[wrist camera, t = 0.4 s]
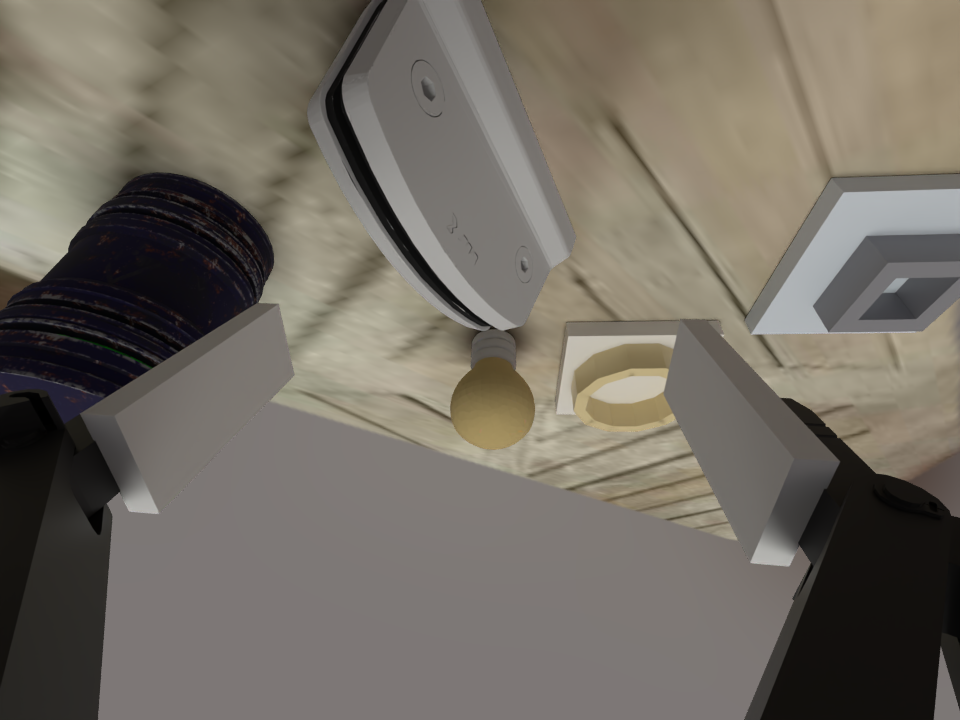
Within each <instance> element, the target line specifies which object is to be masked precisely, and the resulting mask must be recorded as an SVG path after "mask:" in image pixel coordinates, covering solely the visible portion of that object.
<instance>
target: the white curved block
mask: <svg viewBox="0 0 960 720" xmlns="http://www.w3.org/2000/svg"><path fill="white" fill-rule="evenodd" d="M307 115H308V121H309V125H310V127H311V130H312V132H313V134H314V136H315V138H316V140H317V143H318V145H319V147H320V149H321V151H322V153H323V156H324V158H325V160H326V162H327V163H328V165H329V167H330V169H331V171H332V173H333V175H334V177H335V179H336V181H337V183H338V185H339V186H340V188H341V190H342V192H343V193H344V195H345V197H346V199H347V200H348V202H349V204H350V205H351V207H352V209H353V210H354V212H355V214H356V215H357V217H358V218H359V220H360V221H361V223H362V224H363V226H364V228H365V229H366V231H367V232H368V234H369V235H370V236H371V238H372V239H373V241H374V242H375V243H376V245H377V246H378V247H379V249H380V250H381V252H382V253H383V254H384V255H385V257H386V258H387V259H388V260H389V262H390V263H391V264H392V266H393V267H394V268H395V269H396V270H397V271H398V272H399V273H400V275H401V276H402V277H403V278H404V279H405V280H406V281H407V282H408V283H409V284H410V285H411V286H412V287H413V288H414V289H415V290H416V291H417V292H418V293H419V294H420V295H421V296H422V297H423V298H424V299H425V300H427V301H428V302H429V303H430V304H431V305H433V306H434V307H435V308H437V309H438V310H439V311H441V312H442V313H443V314H445V315H446V316H448V317H449V318H451V319H453V320H454V321H456V322H458V323H460V324H462V325H464V326H466V327H469V328H473V329H477V330H481V331H486V330H488V329H489V328H490V327H491V326H494V327H495V328H497V329H499V330H502V331H503V330H507V329H511V328H516V327H520V326H522V325H523V324H524V323H525V322H526V320H527V318H528V316H529V314H530V312H531V310H532V308H533V305H534V303H535V301H536V299H537V297H538V295H539V293H540V291H541V289H542V287H543V284H544V282H545V280H546V278H547V276H548V274H549V272H550V270H551V269H552V268H553V267H554V266H556V265H557V264H559V263H560V262H562V261H563V260H565V259H566V258H568V257H569V256H570V254H571V251H572V248H573V245H574V242H575V239H576V235H575V232H574V230H573V227H572V225H571V222H570V220H569V218H568V215H567V213H566V210H565V208H564V205H563V203H562V200H561V198H560V195H559V193H558V190H557V188H556V185H555V183H554V180H553V178H552V175H551V173H550V170H549V168H548V165H547V163H546V161H545V158H544V156H543V153H542V151H541V148H540V146H539V143H538V141H537V138H536V136H535V133H534V131H533V128H532V126H531V123H530V121H529V118H528V116H527V113H526V111H525V108H524V106H523V104H522V101H521V99H520V96H519V94H518V91H517V89H516V86H515V84H514V81H513V79H512V76H511V74H510V71H509V69H508V66H507V64H506V61H505V59H504V56H503V54H502V51H501V49H500V47H499V44H498V42H497V39H496V37H495V34H494V32H493V29H492V27H491V24H490V22H489V19H488V17H487V14H486V12H485V9H484V7H483V4H482V2H481V0H384V1H383V0H372V1H371V2H370V3H369V5H368V6H367V7H366V9H365V10H364V11H363V13H362V14H361V16H360V18H359V19H358V21H357V23H356V24H355V26H354V28H353V29H352V31H351V33H350V34H349V36H348V38H347V39H346V41H345V43H344V44H343V46H342V48H341V50H340V51H339V53H338V55H337V56H336V58H335V60H334V61H333V63H332V65H331V66H330V68H329V70H328V71H327V73H326V75H325V76H324V78H323V80H322V81H321V83H320V85H319V86H318V88H317V90H316V91H315V93H314V95H313V96H312V98H311V100H310V101H309V104H308V110H307Z"/></svg>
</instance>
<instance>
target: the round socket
mask: <svg viewBox="0 0 960 720" xmlns="http://www.w3.org/2000/svg"><path fill="white" fill-rule="evenodd" d="M707 322H708V323H709V324H710V325H711V326H712V327H713V328H714V329H715V330H716V331H717V332H718V333H719V334H720V335H721V336H722V337H723V336H724V333H723V330H722V328H721V325H720V323H719V320H714V321H707ZM679 323H680V321H636V322H567V323H566V330H565V337H564V344H563V351H562V358H561V364H560V371H559V378H558V385H557V392H556V399H555V407H556V414H576V415H577V416H578V417H579V418H580V419H581V420H582V421H583V422H584V423H585V425H589V426H592V427H595V428H598V429H602V430H605V431H608V432H638V431H642V430H646V429H650V428H654V427H659V426H663V425H666V424H668V423H670V422H672V421H673V420H675V419H676V418H675V416H674V414H673V412H672V410H671V408H670V406H669V404H668V402H667V401H666V399H665V397H664V395H663V393H664V389H665V384H666V380H667V376H668V371H669V367H670V362H671V358H672V354H673V349H674V345H675V340H676V336H677V332H678V327H679Z"/></svg>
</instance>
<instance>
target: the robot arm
mask: <svg viewBox="0 0 960 720" xmlns="http://www.w3.org/2000/svg"><path fill="white" fill-rule="evenodd" d="M293 376H294V371H293V366H292V362H291V357H290V353H289V348H288V344H287V339H286V335H285V330H284V326H283V321H282V317H281V312H280V308H279V304H268V303H257V304H255V305H253V306H252V307H250V308H249V309H247V310H245V311H244V312H242V313H240V314H239V315H237V316H236V317H234V318H232V319H231V320H229V321H228V322H226V323H224V324H223V325H221V326H220V327H218V328H216V329H215V330H213V331H212V332H210V333H208V334H207V335H205V336H204V337H202V338H200V339H199V340H197V341H196V342H194V343H192V344H191V345H189V346H188V347H186V348H184V349H183V350H181V351H180V352H178V353H176V354H175V355H173V356H172V357H170V358H168V359H167V360H165V361H164V362H162V363H160V364H159V365H157V366H156V367H154V368H152V369H151V370H149V371H148V372H146V373H144V374H143V375H141V376H140V377H138V378H136V379H135V380H133V381H132V382H130V383H128V384H127V385H125V386H124V387H122V388H120V389H119V390H117V391H116V392H114V393H112V394H111V395H109V396H108V397H106V398H104V399H103V400H101V401H100V402H98V403H96V404H95V405H93V406H92V407H90V408H88V409H87V410H85V411H84V412H82V413H80V414H79V415H78V416H76V417H74V418H73V419H71V420H70V421H68V422H66V423H65V424H64V422H63V420H62V419H61V417H60V415H59V413H58V411H57V409H56V407H55V405H54V404H53V402H52V400H51V398H50V396H49V394H48V392H47V391H44V390H41V389H25V390H19V391H13V392H9V393H5V394H1V395H0V720H98V709H99V695H100V680H101V667H102V652H103V640H104V625H105V612H106V611H105V610H106V598H107V584H108V569H109V555H110V542H111V528H112V514H111V511H110V509H109V507H108V505H107V503H108V502H109V501H110V500H111V499H112V498H113V497H114V496H116V495H117V494H118V493H119V492H120V494H121V496H122V498H123V500H124V502H125V504H126V506H127V508H128V510H129V511H130V512H142V513H154V514H160V513H161V512H162V511H163V510H164V509H165V508H166V507H167V506H168V505H169V504H170V503H171V502H172V501H173V500H174V499H175V498H176V497H177V496H178V495H179V493H180V492H181V491H182V490H183V489H184V488H185V487H186V486H187V485H188V484H189V483H190V482H191V481H192V480H193V479H194V478H195V477H196V476H197V475H198V474H199V473H200V472H201V471H202V470H203V469H204V468H205V467H206V466H207V465H208V464H209V463H210V461H211V460H212V459H213V458H214V457H215V456H216V455H217V454H218V453H219V452H220V451H221V450H222V449H223V448H224V447H225V446H226V445H227V444H228V443H229V442H230V441H231V440H232V439H233V438H234V437H235V436H236V435H237V434H238V433H239V432H240V431H241V430H242V429H243V428H244V426H245V425H246V424H247V423H248V422H249V421H250V420H251V419H252V418H253V417H254V416H255V415H256V414H257V413H258V412H259V411H260V410H261V409H262V408H263V407H264V406H265V405H266V404H267V403H268V402H269V401H270V400H271V399H272V398H273V397H274V396H275V395H276V394H277V392H278V391H279V390H280V389H281V388H282V387H283V386H284V385H285V384H286V383H287V382H288V381H289V380H290V379H291V378H292V377H293ZM663 395H664V397H665V399H666V401H667V402H668V404H669V406H670V408H671V410H672V412H673V414H674V416H675V418H676V420H677V422H678V424H679V426H680V428H681V430H682V432H683V434H684V436H685V437H686V439H687V441H688V443H689V445H690V447H691V449H692V451H693V453H694V455H695V457H696V459H697V461H698V463H699V465H700V467H701V469H702V471H703V472H704V474H705V476H706V478H707V480H708V482H709V484H710V486H711V488H712V490H713V492H714V494H715V496H716V498H717V500H718V502H719V504H720V506H721V507H722V509H723V511H724V513H725V515H726V517H727V519H728V521H729V523H730V525H731V527H732V529H733V531H734V533H735V535H736V537H737V539H738V541H739V542H740V544H741V546H742V548H743V550H744V552H745V554H746V556H747V558H748V560H749V562H750V563H756V564H767V565H779V566H790V564H791V562H792V560H793V558H794V555H795V553H796V551H797V549H798V547H799V545H800V547H801V548H802V549H803V551H804V553H805V554H806V556H807V557H808V559H809V560H810V562H811V564H810V566H809V568H808V570H807V572H806V573H805V575H804V577H803V579H802V581H801V583H800V585H799V587H798V589H797V591H796V593H795V595H794V597H793V600H794V602H793V604H792V607H791V609H790V611H789V614H788V616H787V619H786V621H785V624H784V626H783V628H782V631H781V633H780V636H779V638H778V640H777V643H776V645H775V647H774V650H773V652H772V655H771V657H770V659H769V662H768V664H767V666H766V669H765V671H764V674H763V676H762V678H761V681H760V683H759V686H758V688H757V691H756V693H755V695H754V697H753V700H752V702H751V705H750V707H749V709H748V712H747V714H746V717H745V719H744V720H934V710H935V699H936V689H937V678H938V667H939V657H940V647H941V648H942V651H943V655H944V658H945V661H946V665H947V668H948V672H949V675H950V678H951V682H952V685H953V689H954V692H955V696H956V699H957V702H958V706H959V709H960V518H958V517H954V516H951V514H950V511H949V510H948V509H947V508H946V507H945V506H944V505H943V503H941V502H940V500H939V499H937V498H936V497H934V496H933V495H931V494H930V493H928V492H927V491H925V490H924V489H922V488H920V487H918V486H915V485H913V484H911V483H909V482H907V481H905V480H901V479H898V478H895V477H892V476H888V475H883V474H876V473H875V472H874V471H873V470H872V469H871V468H870V467H869V466H868V465H867V464H866V463H865V462H864V461H863V460H862V459H861V458H859V457H858V456H857V455H856V454H855V453H854V452H853V451H852V450H851V449H850V448H849V447H848V446H847V445H846V444H845V443H844V442H843V441H842V440H841V439H840V438H837V435H836V434H835V433H834V432H833V431H832V430H831V429H830V428H829V427H826V426H825V425H826V424H825V423H824V422H823V421H822V420H821V419H820V418H819V417H818V416H817V415H816V414H815V413H814V412H813V411H811V410H810V409H808V408H806V407H805V406H803V405H801V404H800V403H798V402H796V401H794V400H793V399H790V398H780V397H779V396H778V395H777V394H776V393H775V392H774V391H773V390H772V389H771V388H770V387H769V386H768V385H767V384H766V383H765V382H764V381H763V380H762V378H761V377H760V376H759V375H758V374H757V373H756V372H755V371H754V370H753V369H752V368H751V367H750V366H749V365H748V364H747V363H746V362H745V361H744V359H743V358H742V357H741V356H740V355H739V354H738V353H737V352H736V351H735V350H734V349H733V348H732V347H731V346H730V345H729V344H728V343H727V342H726V341H725V339H724V338H723V337H722V336H721V335H720V334H719V333H718V332H717V331H716V330H715V329H714V328H713V327H712V326H711V325H710V324H709V323H708V322H707V320H697V319H680V323H679V327H678V332H677V336H676V340H675V345H674V349H673V354H672V358H671V362H670V367H669V371H668V376H667V380H666V384H665V389H664V393H663Z"/></svg>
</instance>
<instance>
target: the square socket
mask: <svg viewBox="0 0 960 720" xmlns="http://www.w3.org/2000/svg"><path fill="white" fill-rule="evenodd" d="M959 298H960V174H940V175H910V176H879V177H849V178H831V179H830V181H829V183H828V184H827V186H826V188H825V189H824V191H823V193H822V194H821V196H820V197H819V199H818V201H817V202H816V204H815V206H814V207H813V209H812V211H811V212H810V214H809V215H808V217H807V219H806V220H805V222H804V224H803V225H802V227H801V229H800V230H799V232H798V233H797V235H796V237H795V238H794V240H793V242H792V243H791V245H790V247H789V248H788V250H787V251H786V253H785V255H784V256H783V258H782V260H781V261H780V263H779V265H778V266H777V268H776V269H775V271H774V273H773V274H772V276H771V278H770V279H769V281H768V283H767V284H766V286H765V287H764V289H763V291H762V292H761V294H760V296H759V297H758V299H757V301H756V302H755V304H754V305H753V307H752V309H751V310H750V312H749V314H748V315H747V317H746V319H745V322H746V324H747V327H748V329H749V331H750V333H751V334H826V333H916V332H917V331H923V330H924V329H925V328H927V327H928V326H929V325H930V324H931V323H932V322H933V321H934V320H935V319H936V318H938V317H939V316H940V315H941V314H942V313H943V312H944V311H945V310H946V309H948V308H949V307H950V306H951V305H952V304H953V303H954V302H955V301H956V300H958V299H959Z"/></svg>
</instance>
